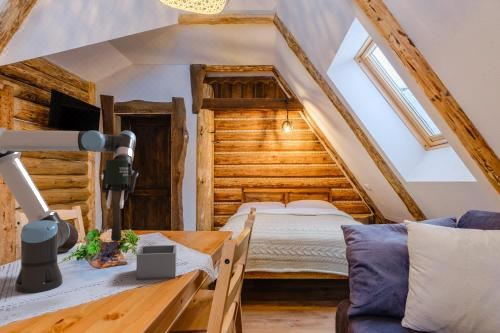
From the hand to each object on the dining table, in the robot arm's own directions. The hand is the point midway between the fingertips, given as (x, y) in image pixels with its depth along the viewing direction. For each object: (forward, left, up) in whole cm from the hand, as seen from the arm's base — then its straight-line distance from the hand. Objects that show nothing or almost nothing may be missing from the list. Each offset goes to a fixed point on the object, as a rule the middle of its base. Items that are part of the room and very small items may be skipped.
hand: (114, 206), depth 130 cm
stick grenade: (0, +4, -13) cm, 14 cm away
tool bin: (+14, +18, -30) cm, 38 cm away
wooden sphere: (-37, +63, -31) cm, 79 cm away
